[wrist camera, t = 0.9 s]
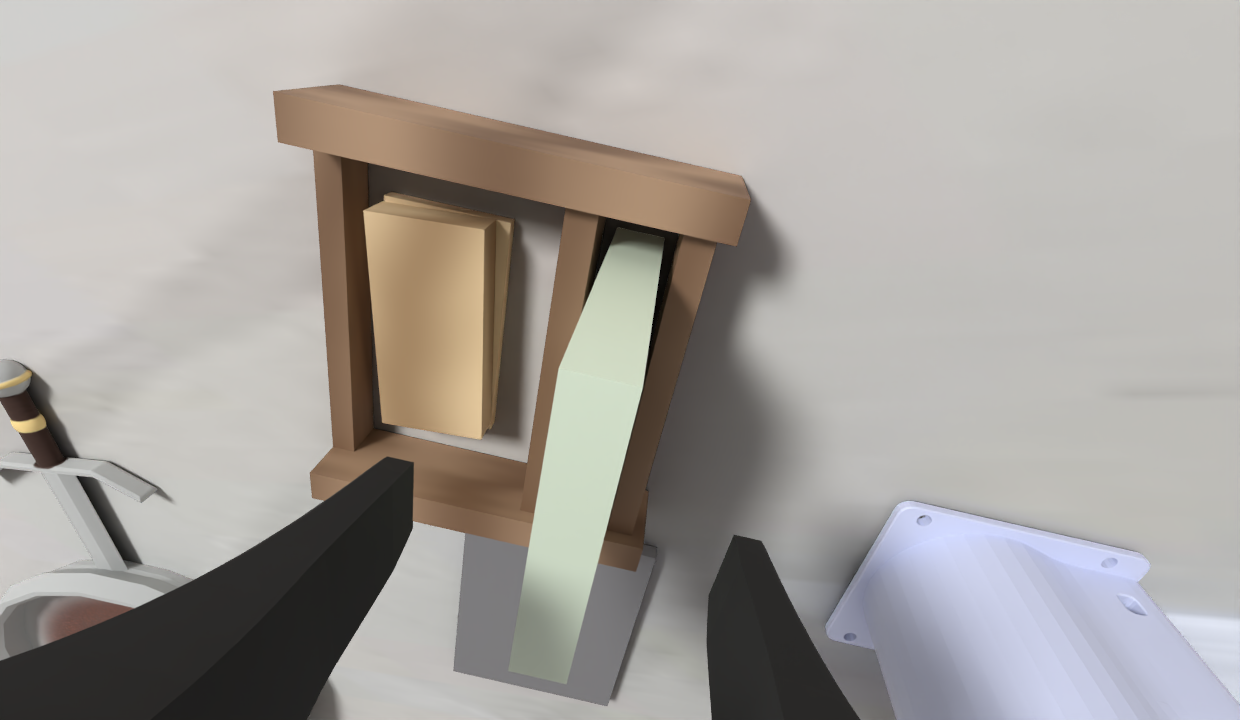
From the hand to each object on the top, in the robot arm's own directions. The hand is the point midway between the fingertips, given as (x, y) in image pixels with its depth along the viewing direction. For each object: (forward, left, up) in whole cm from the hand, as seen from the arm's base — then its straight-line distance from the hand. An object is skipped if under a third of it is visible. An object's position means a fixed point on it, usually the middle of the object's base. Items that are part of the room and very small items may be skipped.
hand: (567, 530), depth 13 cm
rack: (+3, 0, -8) cm, 9 cm away
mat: (0, +14, -8) cm, 16 cm away
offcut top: (+6, 0, -8) cm, 10 cm away
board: (0, 0, -8) cm, 8 cm away
